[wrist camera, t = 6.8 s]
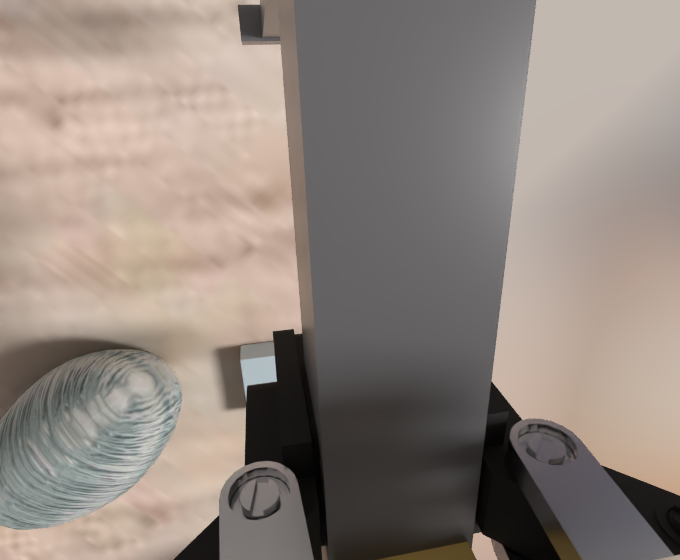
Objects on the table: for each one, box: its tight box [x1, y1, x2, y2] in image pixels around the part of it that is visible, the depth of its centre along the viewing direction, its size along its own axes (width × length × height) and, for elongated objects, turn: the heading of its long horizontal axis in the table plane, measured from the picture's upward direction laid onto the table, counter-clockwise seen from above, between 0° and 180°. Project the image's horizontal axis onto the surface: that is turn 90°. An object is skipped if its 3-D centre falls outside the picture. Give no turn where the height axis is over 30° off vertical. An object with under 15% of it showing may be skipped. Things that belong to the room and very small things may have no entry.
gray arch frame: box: [238, 0, 536, 560], centre depth 14 cm, size 21×4×15 cm, turn 2°
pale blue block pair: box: [240, 341, 277, 397], centre depth 32 cm, size 27×6×2 cm, turn 92°
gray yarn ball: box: [0, 349, 182, 530], centre depth 30 cm, size 14×10×10 cm
